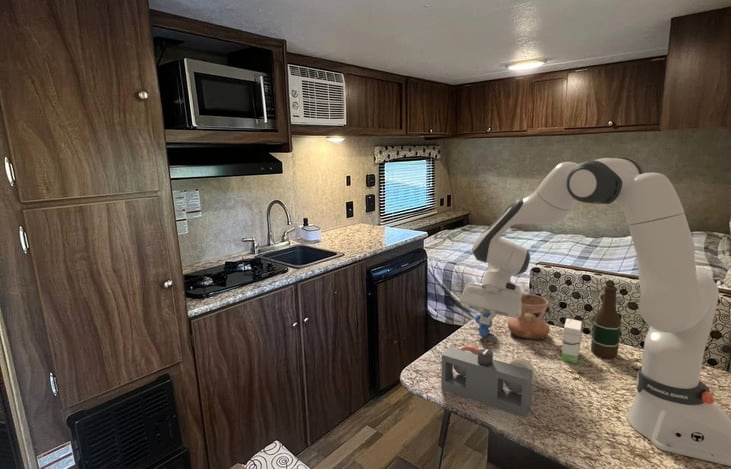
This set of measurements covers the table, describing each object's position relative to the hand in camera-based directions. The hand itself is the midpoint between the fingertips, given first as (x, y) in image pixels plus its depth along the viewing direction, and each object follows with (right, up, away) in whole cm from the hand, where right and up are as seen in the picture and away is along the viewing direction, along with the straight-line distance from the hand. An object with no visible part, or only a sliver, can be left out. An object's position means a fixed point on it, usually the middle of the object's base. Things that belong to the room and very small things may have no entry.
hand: (484, 323), depth 129 cm
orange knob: (-8, -13, -10) cm, 18 cm away
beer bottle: (+42, -11, +4) cm, 43 cm away
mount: (-6, -17, -19) cm, 26 cm away
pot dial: (-6, -6, -21) cm, 23 cm away
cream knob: (+4, -14, -18) cm, 24 cm away
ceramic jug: (+23, -9, +19) cm, 31 cm away
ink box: (+30, -12, +2) cm, 32 cm away
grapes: (+5, -9, +19) cm, 22 cm away
